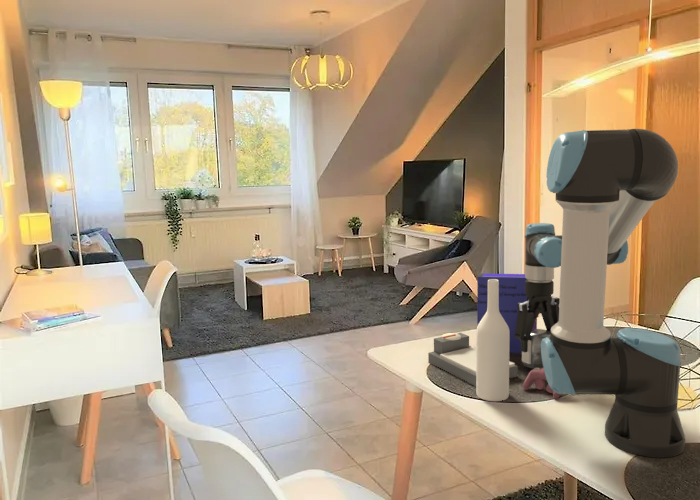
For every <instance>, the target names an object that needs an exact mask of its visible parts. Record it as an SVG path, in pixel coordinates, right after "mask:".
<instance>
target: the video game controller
mask: <svg viewBox="0 0 700 500" xmlns="http://www.w3.org/2000/svg"><path fill="white" fill-rule="evenodd" d="M545 381H547V379H546V376H545V372H544V368H532V369H531V370H530V371H529V372H528V374H527V376H526V378H525V380H524V382H523V384H522V388H523V390H524V391H528V390H529V389H530V388H531V387H532V386H533V384H534V386H535V388H536V389H537V390H539V391H540V390H541V391H542V390H544V389H545V387H546V391H547V392H548V393H549V394H552V396H553V397H552V398H553V399H554V400H557V399H559V398H560V396H562V394H558V393H556V392H554V391H553V390H552V389H551V388H550V386H549V384H547V385H546V383H545Z"/></svg>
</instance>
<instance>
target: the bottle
mask: <svg viewBox="0 0 700 500" xmlns="http://www.w3.org/2000/svg"><path fill="white" fill-rule="evenodd" d="M476 326H477V325H476ZM475 335H476V338H475V339H476V340H475V341H476V344H475V345H476V346H475V347H476V386H475V387H476V388H475V390H476V391H475V392H476V393H475V394H476V396H477V398H479V399H482V400H483V401H488V402H502V400H503V401H505V400H507V399H508V398H509V396H510V379H509V361H510V353H509V343H510V332H509V327H508V325H507V324H506V322H505V320H504V319H503V317H502V316H501V314H500V312H499V280H497V279H489V280H488V306H487V312H486V314H485V315H484V317H483V318H482V319H481V321H480V323H479V324H478V326H477V327H476V334H475Z"/></svg>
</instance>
